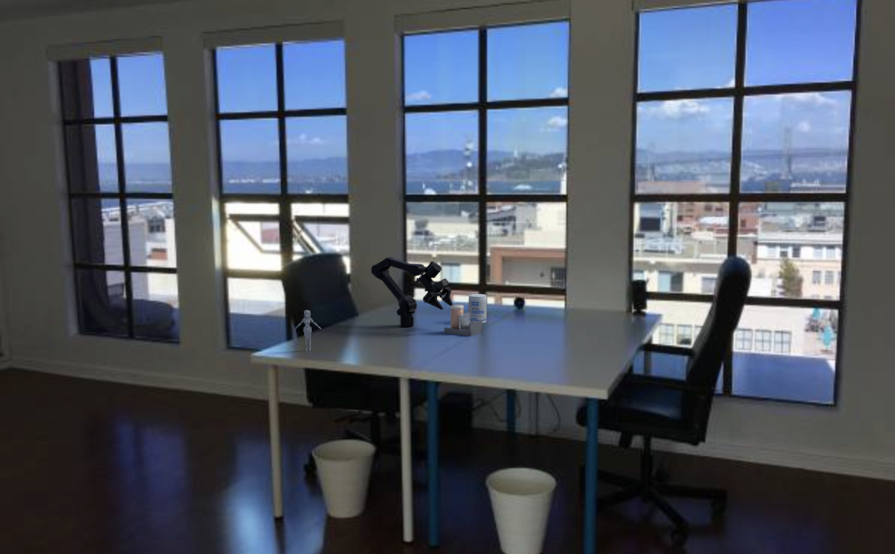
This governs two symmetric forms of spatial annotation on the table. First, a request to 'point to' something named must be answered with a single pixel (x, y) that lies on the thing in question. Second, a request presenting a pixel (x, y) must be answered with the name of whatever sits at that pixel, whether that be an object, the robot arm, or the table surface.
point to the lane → (473, 330)
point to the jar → (456, 315)
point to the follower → (464, 321)
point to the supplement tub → (477, 307)
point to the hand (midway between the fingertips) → (447, 307)
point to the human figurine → (307, 327)
